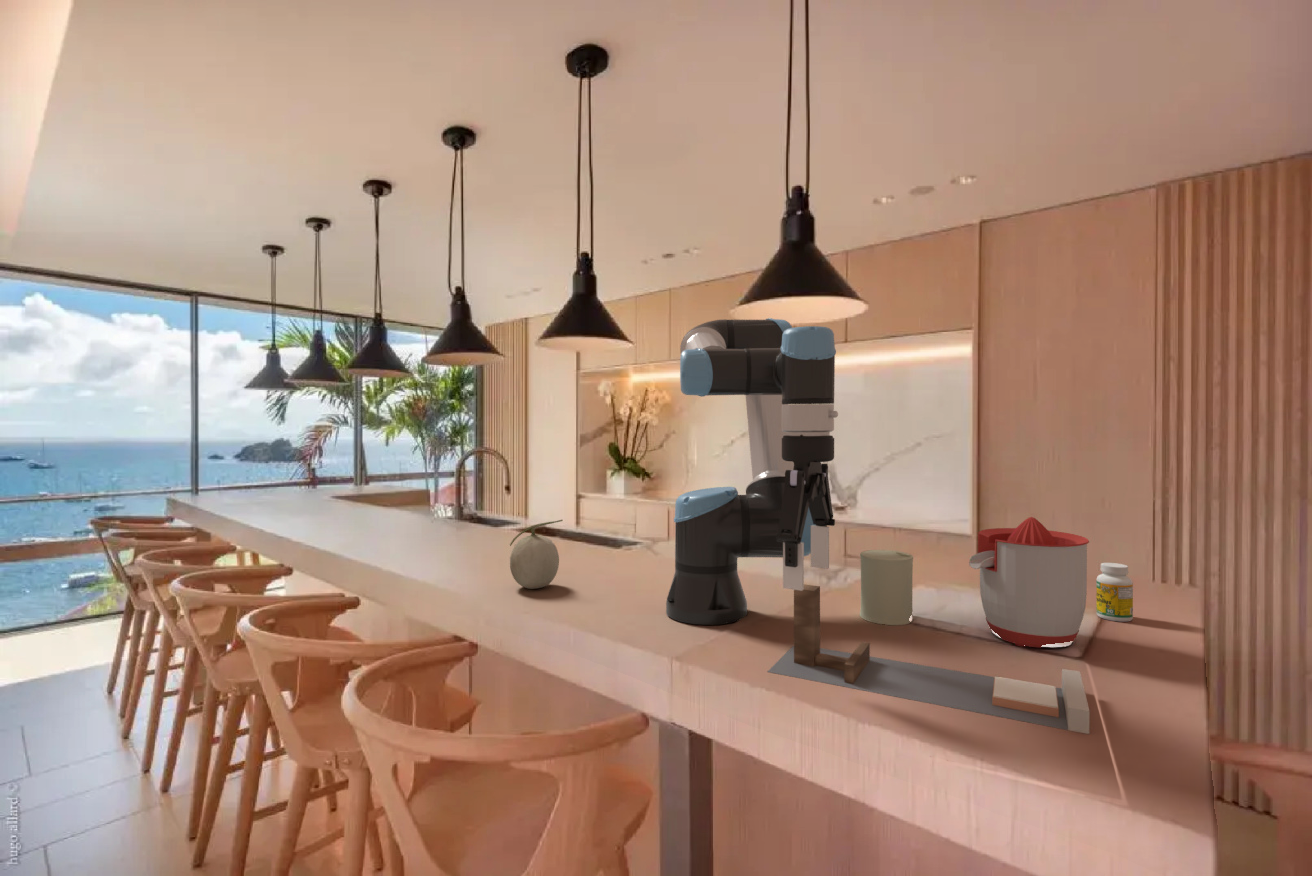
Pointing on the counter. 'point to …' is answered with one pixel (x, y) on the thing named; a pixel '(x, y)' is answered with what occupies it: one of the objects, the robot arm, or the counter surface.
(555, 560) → the fruit
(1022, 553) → the citrus juicer
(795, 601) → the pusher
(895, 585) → the can
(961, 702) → the grey board
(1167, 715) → the counter surface
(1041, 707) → the tile
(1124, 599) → the supplement bottle
